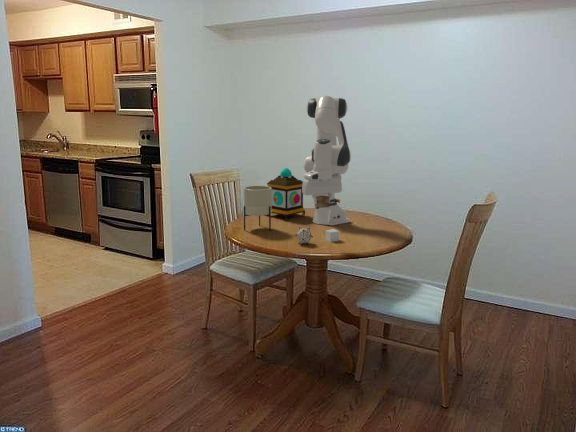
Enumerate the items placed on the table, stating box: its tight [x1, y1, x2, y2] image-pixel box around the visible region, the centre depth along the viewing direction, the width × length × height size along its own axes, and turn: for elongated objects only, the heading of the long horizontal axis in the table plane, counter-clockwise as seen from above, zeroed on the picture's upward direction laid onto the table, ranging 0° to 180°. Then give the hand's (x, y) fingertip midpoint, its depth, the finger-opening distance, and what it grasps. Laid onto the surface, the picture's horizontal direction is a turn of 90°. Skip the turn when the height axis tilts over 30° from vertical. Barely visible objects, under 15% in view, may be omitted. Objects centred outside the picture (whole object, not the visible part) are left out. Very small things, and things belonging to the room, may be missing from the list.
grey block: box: [324, 228, 340, 243], centre depth 235 cm, size 5×5×5 cm
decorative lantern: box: [266, 167, 306, 221], centre depth 286 cm, size 20×20×30 cm
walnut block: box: [314, 195, 330, 208], centre depth 222 cm, size 5×5×5 cm
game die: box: [294, 226, 314, 245], centre depth 228 cm, size 9×8×10 cm
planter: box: [243, 185, 273, 232], centre depth 255 cm, size 15×16×23 cm
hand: (322, 203), depth 222 cm, fingers closed on walnut block, 5 cm apart
